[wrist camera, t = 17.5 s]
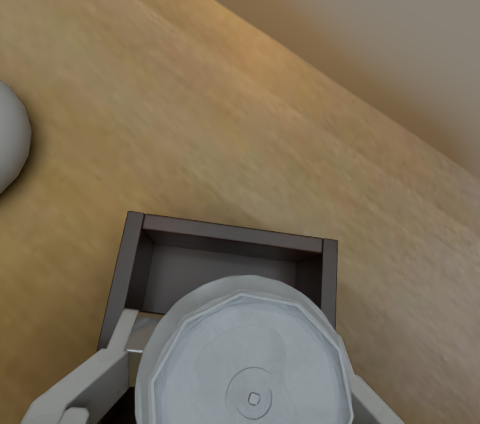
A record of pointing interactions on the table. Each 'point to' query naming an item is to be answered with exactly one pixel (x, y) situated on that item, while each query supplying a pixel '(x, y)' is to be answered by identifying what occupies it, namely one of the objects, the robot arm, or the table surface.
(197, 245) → the holder
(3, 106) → the donut
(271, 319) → the beer can
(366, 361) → the table surface
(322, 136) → the table surface
